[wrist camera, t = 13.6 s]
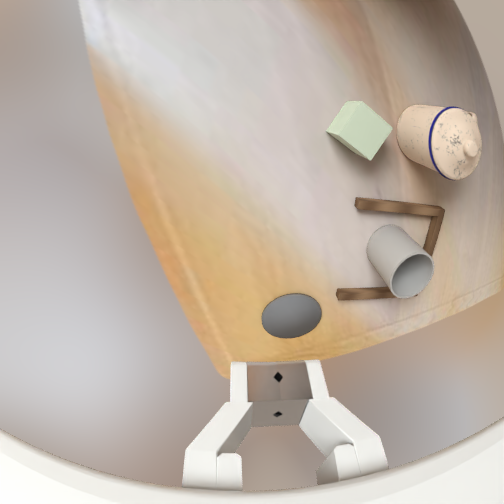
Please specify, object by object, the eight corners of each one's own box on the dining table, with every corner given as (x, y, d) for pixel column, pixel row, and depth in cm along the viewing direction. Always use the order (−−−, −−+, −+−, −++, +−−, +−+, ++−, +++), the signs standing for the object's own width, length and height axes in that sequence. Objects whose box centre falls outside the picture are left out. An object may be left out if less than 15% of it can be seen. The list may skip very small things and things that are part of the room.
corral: (335, 294, 44) (338, 300, 43) (355, 197, 37) (359, 200, 35) (413, 291, 45) (417, 296, 44) (439, 206, 37) (445, 210, 36)
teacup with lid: (411, 175, 35) (460, 203, 25) (382, 121, 31) (434, 132, 21) (460, 136, 32) (512, 153, 21) (436, 84, 28) (492, 87, 18)
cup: (396, 214, 38) (428, 242, 30) (414, 261, 42) (441, 291, 34) (358, 239, 40) (382, 272, 32) (380, 283, 44) (402, 318, 36)
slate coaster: (249, 323, 47) (249, 325, 46) (287, 283, 43) (288, 286, 42) (294, 342, 50) (294, 344, 50) (332, 308, 46) (333, 310, 45)
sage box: (346, 101, 30) (361, 101, 26) (374, 124, 32) (392, 128, 27) (325, 131, 32) (338, 135, 28) (355, 153, 34) (370, 160, 29)
